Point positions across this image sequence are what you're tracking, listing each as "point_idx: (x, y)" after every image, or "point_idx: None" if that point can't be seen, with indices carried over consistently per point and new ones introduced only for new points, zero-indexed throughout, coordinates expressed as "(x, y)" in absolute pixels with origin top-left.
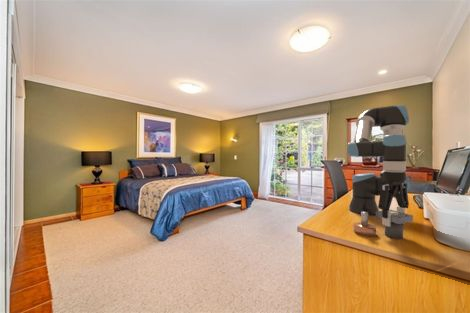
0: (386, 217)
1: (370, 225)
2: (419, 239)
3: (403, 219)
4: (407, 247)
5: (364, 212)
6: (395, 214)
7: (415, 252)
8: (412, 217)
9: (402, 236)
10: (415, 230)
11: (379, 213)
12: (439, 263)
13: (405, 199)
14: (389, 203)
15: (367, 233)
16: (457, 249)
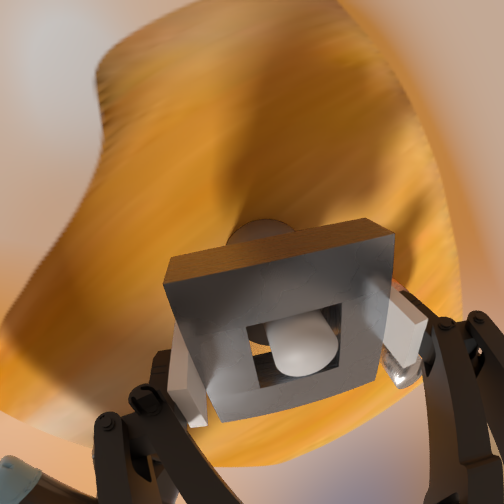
0: (405, 293)
1: None
2: (155, 202)
3: (329, 239)
4: (331, 137)
5: (415, 372)
6: (322, 324)
7: (346, 93)
8: (176, 271)
9: (255, 224)
10: (72, 302)
11: (376, 359)
12: (345, 17)
13: (133, 481)
14: (465, 369)
15: (393, 278)
16: (98, 79)
